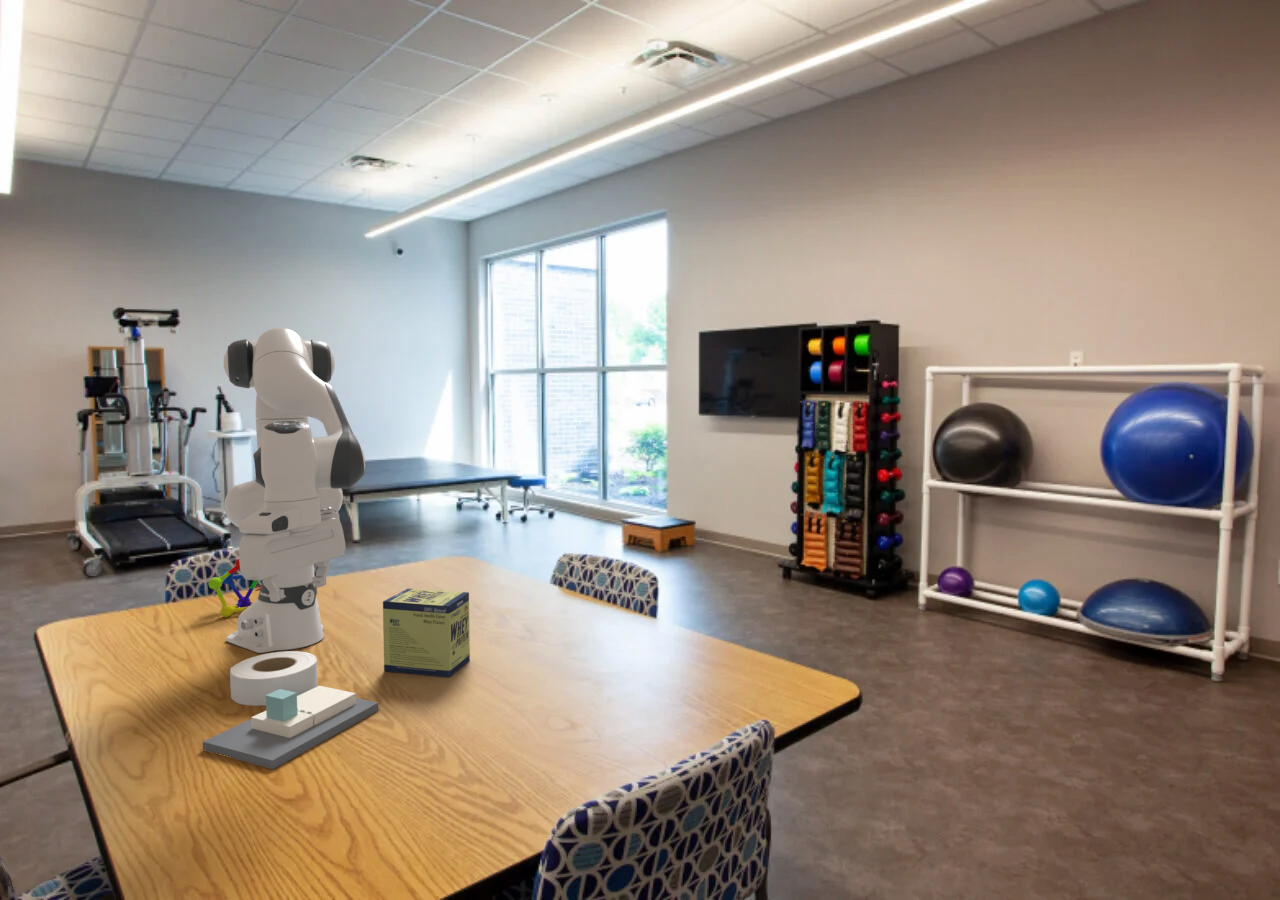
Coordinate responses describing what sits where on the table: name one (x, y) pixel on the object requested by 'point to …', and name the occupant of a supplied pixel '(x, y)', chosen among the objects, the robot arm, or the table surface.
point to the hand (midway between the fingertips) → (299, 593)
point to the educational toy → (227, 579)
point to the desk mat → (283, 738)
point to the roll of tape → (272, 676)
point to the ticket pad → (324, 702)
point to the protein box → (426, 632)
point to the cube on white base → (282, 715)
